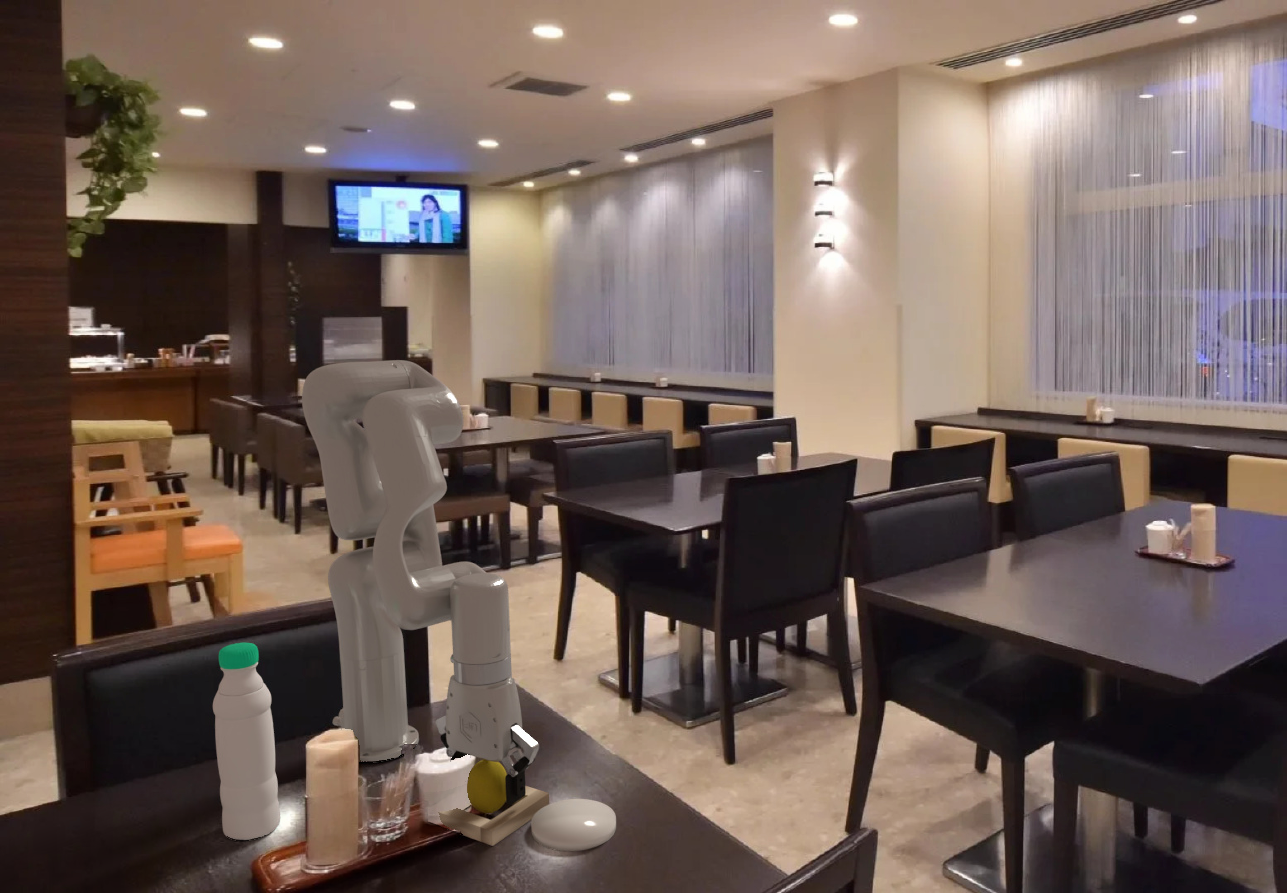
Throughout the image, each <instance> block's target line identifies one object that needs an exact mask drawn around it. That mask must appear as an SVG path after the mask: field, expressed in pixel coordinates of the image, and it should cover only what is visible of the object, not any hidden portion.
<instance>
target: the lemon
mask: <svg viewBox="0 0 1287 893" xmlns="http://www.w3.org/2000/svg"><path fill="white" fill-rule="evenodd" d="M506 775H508V772H507V769H506V768H505V766H503V765H502V763H500V761H499V762H492V761H488V760H485V759H480V760H479V761H478V762H476V763H475V764H474V765H473V766H472V767H471V771H470V773H469V777H468V780H467V781H466V782H467V783H466V784H467V793H468V798H469V800H470V803H471V804H472V805H471V807H473V808H474V809H475V810H477V811H478V812H480V813H483V814H486V813H492V814H493V813H494V812H497V811H499V809H501V808H502V807H503V806H504V805H505V803H506V802H505V801H506V784H505V777H506Z"/></svg>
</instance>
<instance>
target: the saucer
mask: <svg viewBox="0 0 1287 893" xmlns="http://www.w3.org/2000/svg"><path fill="white" fill-rule="evenodd" d="M530 822H531V823H530V824H531V836H532V838H533V839H534V841H535V842H537V843H538V844H539V845H540V846H542V847H545V848H547V849H551V850H553V849H555V850H554V851H559V852H579V851H586V850H589V849H590V850H591V849H593V848H597V847H598V846H601V845H603V844H605V843H607V842H608V841H609V840H610V839H612V837H613V836H614V835H615V833H616V830H617V816H616V813H615V811H614V810H613V809H612V808H611V807H610V806H609V805H607V804H605V803H604V802H601V801H596V800H593V799H586V798H571V799H563V800H559V801H558V800H557V801H555V802H552V803H549V805H547V806H545V807H543V808H541V809H540V810H539V811H537V812H536V813H535V815H534V816H533V818H532V819H531V820H530Z"/></svg>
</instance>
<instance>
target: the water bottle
mask: <svg viewBox="0 0 1287 893" xmlns="http://www.w3.org/2000/svg"><path fill="white" fill-rule="evenodd" d="M259 655H260V654H259V649H258V646H257V645H256V644H254V643H252V642H251V643H250V642H237V643H232V644H228V645H225V646H223V647H222V648H221V649H220V650H219V652H218V663H219V667H220V671H222V672H223V677H222V679H221V681H220V682H219V684H218V690H217V692H216V693H215V696H214V698H213V702H212V710H213V714H214V715H215V721H214V722H215V723H214V729H215V731H214V732H215V750H216V757H217V767H218V775H219V779H220V784H219V786H220V787H219V796H220V798H219V799H220V802H221V806H222V813H221V815H222V816H221V821H222V822H221V823H222V832H223V834H224V835H225V837H227V836H228V837H230V838H233V839H252V838H257V837H261V836H263V835H266V836H268V835H269V834H271V833H272V832H274V831H275V830H276V829H277V828H278V827H279V825H280V823H281V809H280V808H281V807H280V803H279V799H278V789H279V786H278V785H279V784H278V783H279V782H278V778H277V774H276V747H275V746H276V745H275V744H276V743H275V733H274V732H275V731H274V722H273V721H274V720H273V715H272V709H271V704H272V694H271V692H270V690H269V688H268V687H267V685H266V683H264V680H263V678H262V676H261V675H260V674H259V673H258V672H257V669H256V668H257V666H258V664H259V660H260V659H259V658H260V656H259ZM270 832H271V833H270ZM228 837H227V838H228ZM263 837H264V836H263ZM230 838H229V839H230ZM261 838H262V837H261Z"/></svg>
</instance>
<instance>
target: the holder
mask: <svg viewBox="0 0 1287 893" xmlns="http://www.w3.org/2000/svg"><path fill="white" fill-rule="evenodd" d="M525 790H526V794H525V796H524V797H523V798H521V799H520V800H518V801H517V802H515V803H513V804H512V805H511V806H510V807H509V808H507V809H505V810H504V811H503V812H501V813H499V814H498V815H496V816H494V817H492V818H491V819H489V818H486V817H483V816H480V815H477V814H475V813H472V812H469V811H466V810H461V809H458V808H456V809H453V810H449V811H443V812H441V811H440V812H438V813H439V815H440V816H439V817H440V820H441V822H442V823H443V824H444V825H445V826H447V827H449V828H451V829H455V830H460V831H461V833H462V834H463V835H462V836H465V837H467V838H469V839H472V840H476V841H478V842H481V843H484V844H486V845H489V846H492V847H493V846H495V845H497V844H498V843H499V842H501V841H502V840H504V839H505V838H507V837H508V836H509V835H511V834H512V833H514V832H515V831H517V830H518V829H520V828H521V827H523V826H524V825H525V824H527V823H528V822H531V821H532V818H533V816H534V815H535V813H536V812H537V811H539V810H540V809H541V808H543V807H545V806H547V805H549V804H550V793H549V792H546V791H543V790H541V789H537V788H534V787H530V786H528V785H525ZM505 803H507V802H506V801H505Z"/></svg>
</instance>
